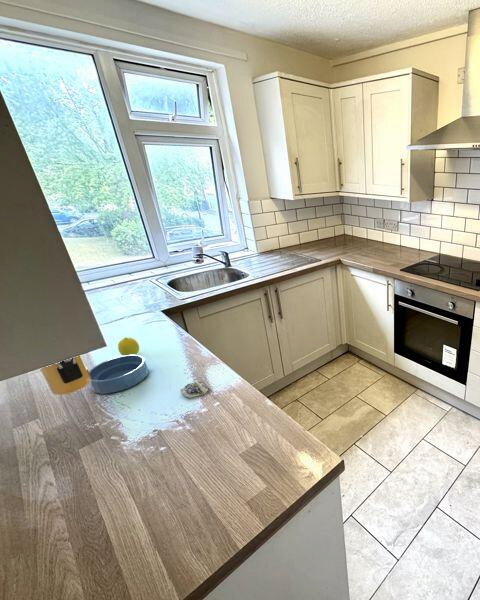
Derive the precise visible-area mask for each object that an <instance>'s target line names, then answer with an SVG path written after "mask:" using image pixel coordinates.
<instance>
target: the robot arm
mask: <svg viewBox="0 0 480 600" xmlns="http://www.w3.org/2000/svg"><path fill="white" fill-rule="evenodd" d="M56 365H57V366H58V368H57V370H58V372H59V374H60V376H61V378H62V381H63V382H64V383H65V384H67V383H69V382H72V381H74V380H76V379H79V378H81V377H82V376H83V375H82V373H81V370H80V368H79V366H78V364H77V362H76V361H75V359H74V358H72V359H68V360H65V361H62V362H60V363H57V364H56Z"/></svg>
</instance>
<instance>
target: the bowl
mask: <svg viewBox="0 0 480 600" xmlns="http://www.w3.org/2000/svg"><path fill="white" fill-rule="evenodd" d="M88 371H89V373H90V376H91V382H90V383H89V384H88V385H89V386H90V388H91V390H92V391H93V392H94V393H96V394H102V395H103V394H112V393H116V392H120V391H123V390H126V389H129V388H131V387H133V386H135V385H137V384H139V383H140V382H141V381H143V380H144V379H145V378H146V377H147V376H148V374H149V371H150V370H149V368H148V365H147V362H146V360H145V357H144V356H142V355H139V354H136V355H125V356H123V355H120V356H116V357H113V358H110V359H107V360H105V361H103V362H100V363H98V364H97V365H95V366H94V367H92V368H91V369H90V370H88Z"/></svg>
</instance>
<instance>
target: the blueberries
mask: <svg viewBox="0 0 480 600" xmlns="http://www.w3.org/2000/svg"><path fill="white" fill-rule="evenodd" d="M204 386H205V385H204V382H203V383H202V382H201V381H195V382H191V383H187V384H186V385H184V387H183V388H181V389H180V390H179V391H180V393H181V394H183V396H185V397H187V398H189V399H191V398H195V397H200V396H203V395H205V394H207V393H208V391H209V389H208V388H207V387H206V386H205V387H204Z"/></svg>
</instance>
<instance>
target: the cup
mask: <svg viewBox="0 0 480 600" xmlns="http://www.w3.org/2000/svg"><path fill="white" fill-rule="evenodd" d="M74 359H75V361H76V362H77V364H78V366H79V368H80V370H81V373H82V375H83V376H82V377H81V378H79V379H76V380H74V381H72V382H69V383H67V384H65V383H64V382H63V381H62V378H61V376H60V374H59V372H58V370H57V368H58V366H57V365H56V364H53V365H51V366H48V367H44V368H42V369H39V371H40V373H41V375H42V377H43V379H44V381H45V382H46V384H47V386H48V387H49V390H50V391H51V393H52V394H53V395H57V396H61V395H68V394H71V393H74V392H77V391H79V390H82V389H83V388H85V387H86V386H88V385H90V384H89V383H90V382H91V376H90V373H89V371H90V370H89V369H88V367H87V364H86V362H85V360H84V357H83V355H82V354H81V356H78V357H75V358H74Z"/></svg>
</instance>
